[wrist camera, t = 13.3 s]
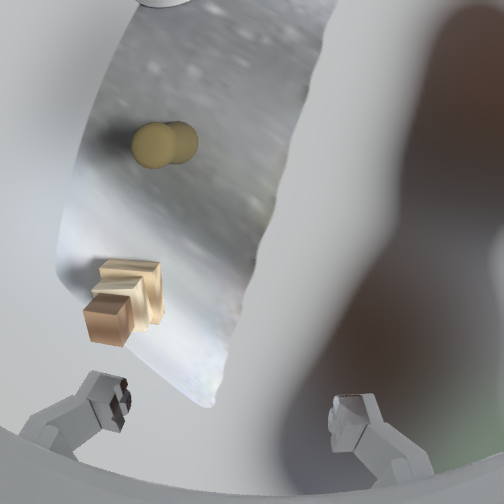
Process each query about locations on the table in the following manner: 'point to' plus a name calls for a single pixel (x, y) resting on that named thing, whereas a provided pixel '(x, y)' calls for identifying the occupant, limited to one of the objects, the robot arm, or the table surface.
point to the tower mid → (137, 295)
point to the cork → (164, 144)
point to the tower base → (151, 280)
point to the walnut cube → (109, 319)
